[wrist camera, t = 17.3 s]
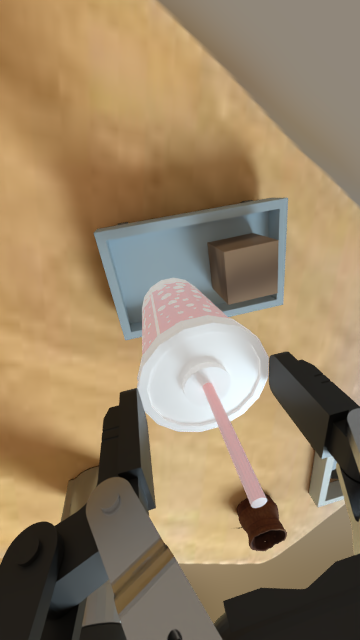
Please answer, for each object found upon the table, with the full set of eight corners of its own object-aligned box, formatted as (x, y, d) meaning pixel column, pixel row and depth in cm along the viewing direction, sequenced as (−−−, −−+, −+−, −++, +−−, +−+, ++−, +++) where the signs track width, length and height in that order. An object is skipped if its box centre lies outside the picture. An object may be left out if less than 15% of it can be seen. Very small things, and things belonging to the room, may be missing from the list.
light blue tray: (125, 322, 31) (125, 341, 27) (98, 226, 26) (93, 231, 22) (263, 292, 33) (283, 305, 29) (264, 196, 27) (288, 196, 23)
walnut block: (207, 242, 26) (224, 252, 21) (252, 232, 26) (278, 240, 22) (212, 287, 28) (228, 304, 24) (254, 278, 29) (277, 293, 24)
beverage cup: (170, 354, 21) (236, 576, 9) (113, 309, 18) (94, 536, 6) (225, 305, 20) (388, 477, 8) (174, 249, 17) (298, 376, 5)
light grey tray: (308, 493, 58) (317, 507, 55) (318, 434, 49) (329, 448, 46) (367, 474, 60) (379, 487, 57) (387, 414, 50) (402, 426, 48)
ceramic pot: (267, 527, 62) (282, 564, 55) (202, 527, 56) (212, 568, 50) (304, 478, 56) (327, 513, 50) (237, 472, 50) (252, 511, 44)
